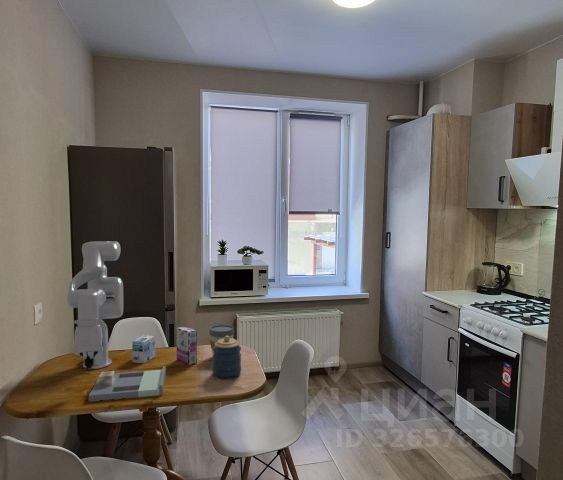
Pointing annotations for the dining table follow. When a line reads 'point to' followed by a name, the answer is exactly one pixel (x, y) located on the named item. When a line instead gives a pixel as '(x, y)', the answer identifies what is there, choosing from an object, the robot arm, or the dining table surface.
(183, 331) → the candy bar box
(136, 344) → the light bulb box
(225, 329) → the reusable coffee cup
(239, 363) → the canister
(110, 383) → the clear glass block
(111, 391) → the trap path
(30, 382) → the dining table surface
